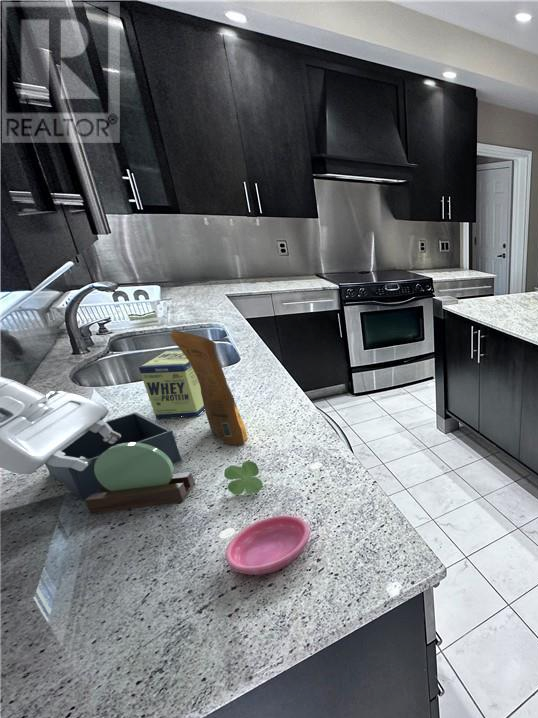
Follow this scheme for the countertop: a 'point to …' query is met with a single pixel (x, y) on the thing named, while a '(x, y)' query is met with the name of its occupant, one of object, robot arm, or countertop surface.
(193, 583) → the countertop surface
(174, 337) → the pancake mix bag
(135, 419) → the tub
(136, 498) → the plate stand
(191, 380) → the protein box
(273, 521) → the saucer
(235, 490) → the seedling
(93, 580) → the countertop surface
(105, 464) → the plate
